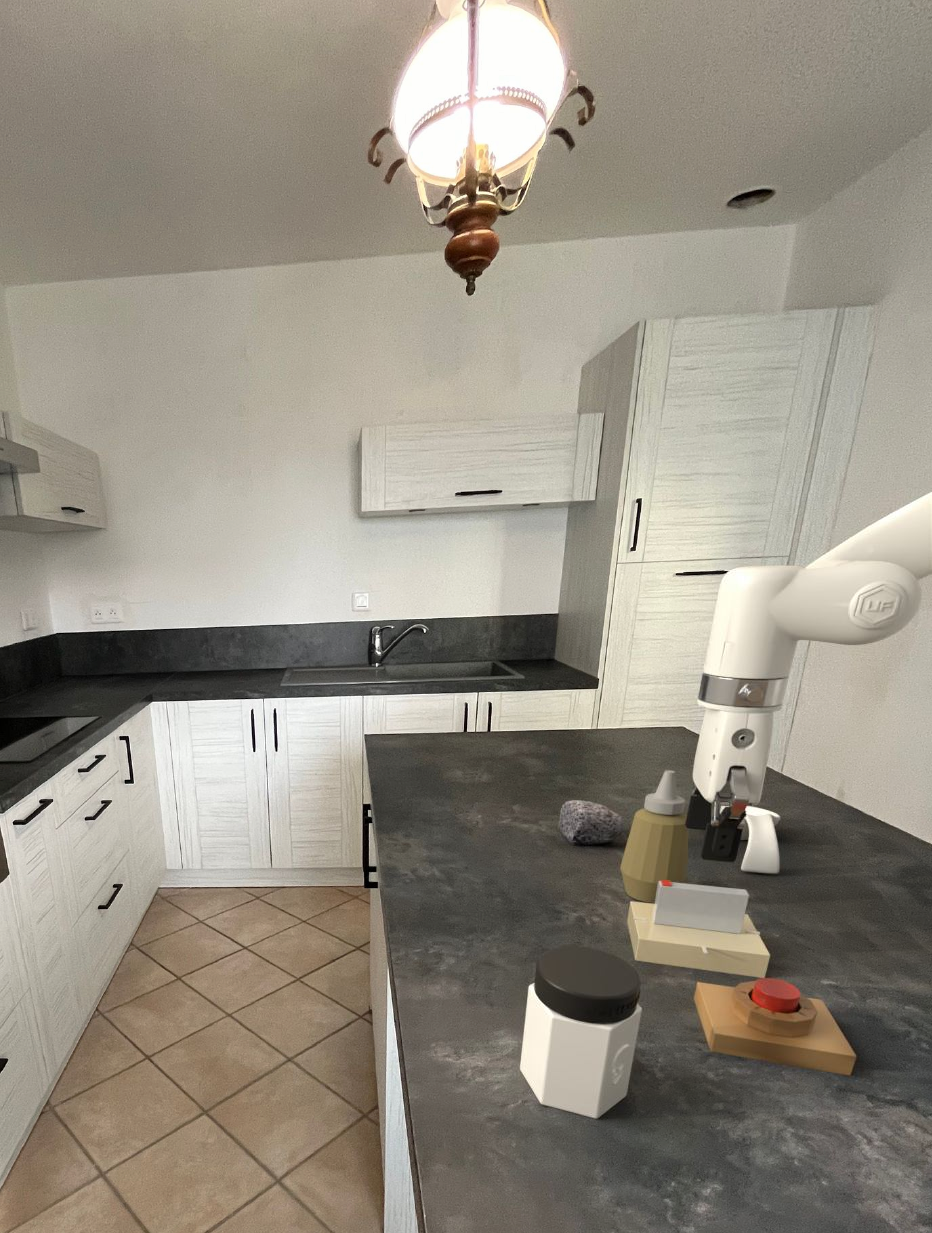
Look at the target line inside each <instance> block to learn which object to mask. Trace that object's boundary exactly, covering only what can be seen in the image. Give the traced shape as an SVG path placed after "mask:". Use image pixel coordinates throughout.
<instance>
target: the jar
mask: <svg viewBox="0 0 932 1233" xmlns="http://www.w3.org/2000/svg"><path fill="white" fill-rule="evenodd" d="M641 983H642V982H641V976H640V974H639V972H638V971H637V969H636V968H634V967H633V966H632V965H631V963H628V962H627V961H626V960H624V959H622V958H620V957H619V956H617V955H615V954H613V953H610V952H607V951H604V950H601V949H597V948H592V947H586V946H576V945H575V946H574V945H572V946H571V945H570V946H559V947H553V948H551V949H548V950H547V951H545V952H543V953H541V955H540V956H539V957H538V958H537V961H536V964H535V975H534V982H533V983H531V984H529V985H528V989H527V1000H526V1006H525V1007H526V1008H525V1017H524V1027H523V1037H522V1046H521V1054H520V1055H521V1056H520V1062H519V1063H520V1065H519V1070H520V1072H521V1074H522V1075H523V1077H524V1079H525V1080H526V1082H527V1084H528V1085H529V1087H530V1089H531V1090H532V1092H533V1094H534V1095H535V1097H536V1099H537V1100H538V1102H539V1103H540V1104H541V1105H542V1106H546V1107H550V1108H554V1109H557V1110H560V1111H564V1112H569V1113H572V1114H577V1115H580V1116H583V1117H588V1118H590V1119H591V1118H592V1119H595V1120H596V1119H599V1118H600V1117H602V1116H603V1115H604V1114H605V1113H607V1112H608V1111H609V1110H611V1109H612V1108H613V1107H614V1106H615V1105H617V1104H618V1103H619V1102H621V1101H622V1100H623V1099H624V1098H625V1097H627V1094H628V1090H629V1083H630V1079H631V1078H630V1077H631V1072H632V1066H633V1062H634V1056H635V1050H636V1046H637V1040H638V1033H639V1028H640V1024H641V1017H642V1012H643V1009H642V1007H641V1005H640V1004H639V1001H640V997H641Z"/></svg>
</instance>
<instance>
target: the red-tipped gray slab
mask: <svg viewBox="0 0 932 1233" xmlns="http://www.w3.org/2000/svg"><path fill="white" fill-rule="evenodd" d="M749 898H750V895H749V892H748V890H747V889H744V888H743V889H742V888H733V887H723V886H714V885H706V884H705V885H704V884H703V885H702V884H693V883H684V882H683V883H675V882H671V881H670V880H661V881H658V887H657V892H656V898H655V903H653V904H654V909H653V915H652V919H653V922H654V924H663V925H671V926H679V927H688V928H696V929H704V930H712V931H721V932H729V933H737V934H740V933H741V929H742V924H743V920H744V916H745V914H746V910H747V906H748V902H749Z"/></svg>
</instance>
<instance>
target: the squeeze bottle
mask: <svg viewBox="0 0 932 1233" xmlns="http://www.w3.org/2000/svg"><path fill="white" fill-rule="evenodd" d="M676 779H677V778H676V771H675V770H670V769H669V770H668V769H666V770H664V772H663V775H662V777H661V779H660V781H659V784H658V787H657V788H656V790H655V792H653V793H649V794H646V796H645V799H644V803H643V808H641V809H638V810H637V811H636V812H635V814H634V817H633V820H632V824H631V826H630V827H631V828H630V830H629V834H628V838H627V842H626V844H625V849H624V852H623V856H622V859H621V864H620V868H619V869H620V872H621V877H622V880H623V885H624V886H623V887H624V890H625V891H624V892H626V894H627V895H628V896H629V897H630V898H632V899H635V900H638V901H639V902H643V903H651V904H655V898H656V892H657V887H658V881H661V880H670V881H671V882H675V883H684V881H685V879H686V878H687V872H688V870H687V869H688V868H687V867H688V856H689V855H688V853H689V840H690V829H689V828H687V827H686V826H685V822H686V817H687V814H685V813H684V810H685V806H686V799H685V798H684V797H682V796H680V795H678V790H677V780H676Z"/></svg>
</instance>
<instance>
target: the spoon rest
mask: <svg viewBox="0 0 932 1233" xmlns="http://www.w3.org/2000/svg"><path fill="white" fill-rule="evenodd" d="M725 807H729V806H721V809H720V814H721V812H722V811H723V809H724V808H725ZM745 811H746V814H747V815H746V817H745V823H744V827H743V831H742V835H741V840H740V841H747V845H746V849H745V853H744V856H743V859H742V862H741V867H740V870H741V871H742V872H749V873H758V874H767V875H769V874H772V875H776V874H779V873H780V862H781V861H780V850H779V849H780V848H779V843H778V842H779V841H778V838H777V832H776V829H775V826H777V825H778V823H779V822H780V820H781V816H780V815H779V814H778V813H776V812H774V811H771V810H768V809H765V808H761V807H757V806H750V805H747V807H746V809H745Z"/></svg>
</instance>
